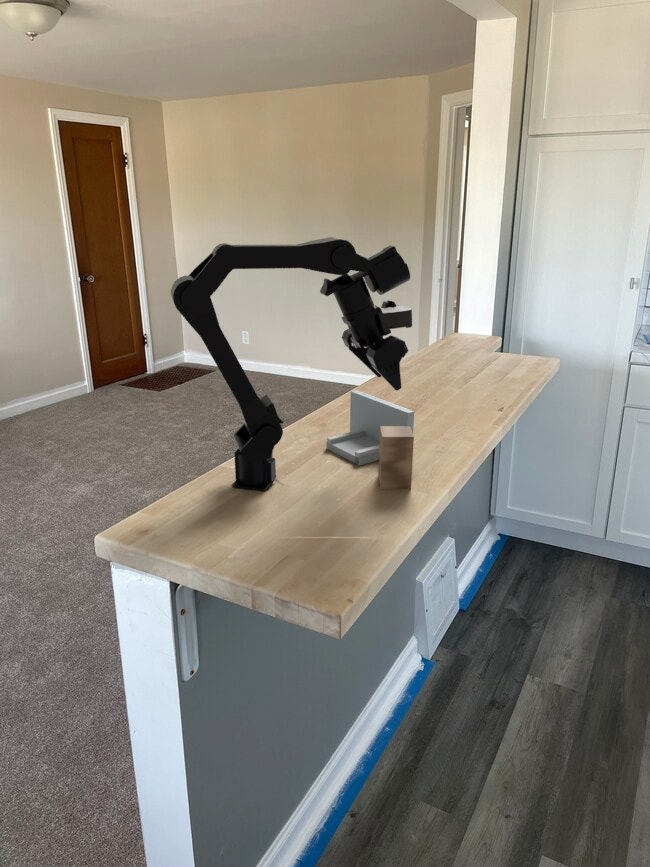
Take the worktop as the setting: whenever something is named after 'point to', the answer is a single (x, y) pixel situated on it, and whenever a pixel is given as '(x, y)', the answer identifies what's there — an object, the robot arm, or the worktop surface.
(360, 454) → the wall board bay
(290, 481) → the worktop surface
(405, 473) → the walnut cabinet block
